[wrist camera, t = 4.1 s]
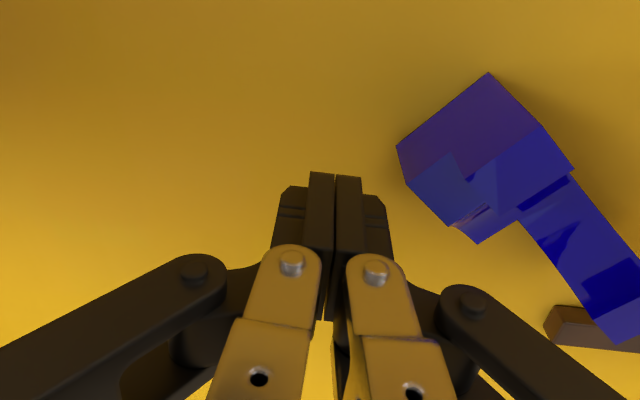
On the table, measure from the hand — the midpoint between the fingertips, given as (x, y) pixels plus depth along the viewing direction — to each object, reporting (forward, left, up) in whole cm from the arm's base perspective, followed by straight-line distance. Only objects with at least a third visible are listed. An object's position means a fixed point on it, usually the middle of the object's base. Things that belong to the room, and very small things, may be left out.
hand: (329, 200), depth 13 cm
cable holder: (+6, 0, -2) cm, 7 cm away
